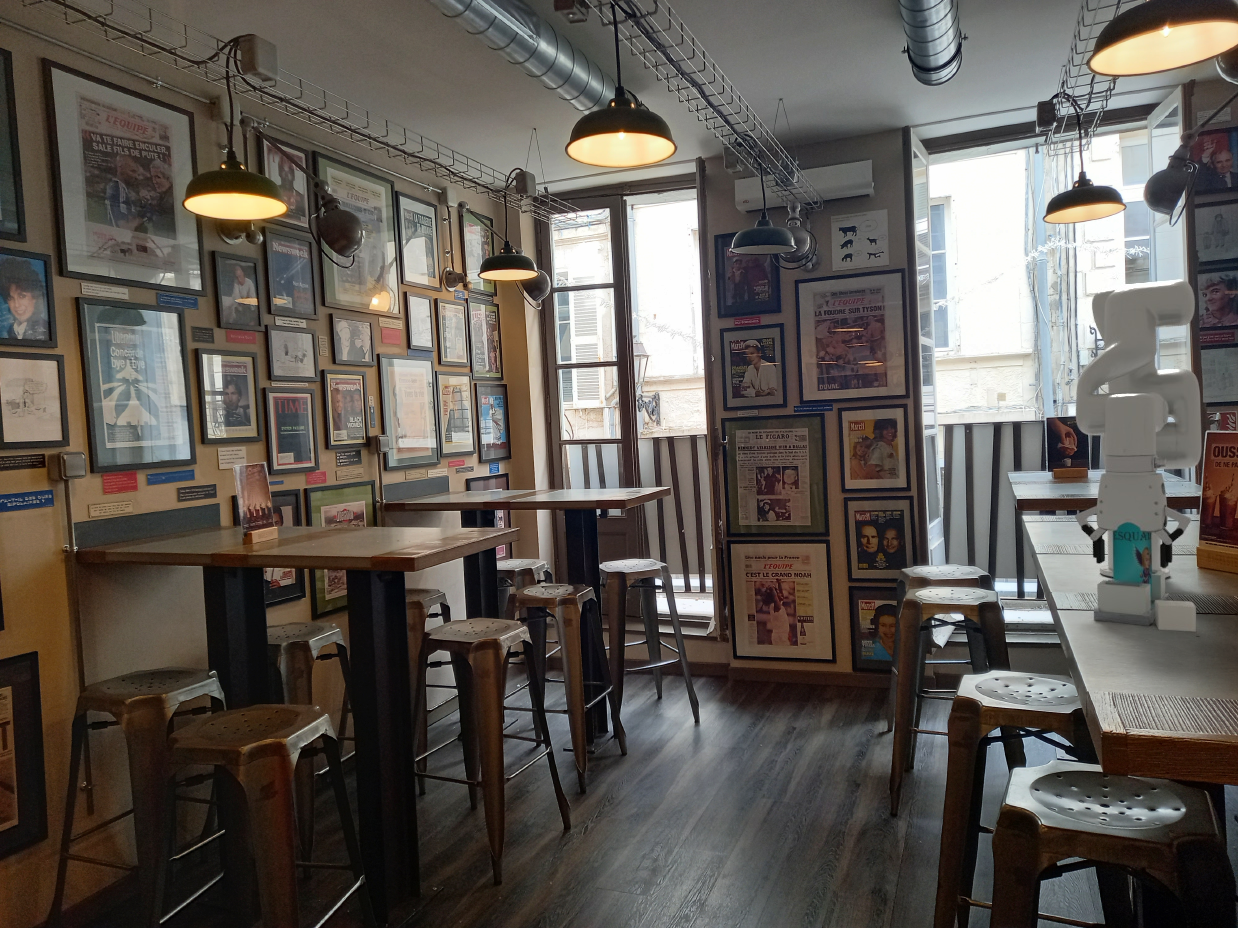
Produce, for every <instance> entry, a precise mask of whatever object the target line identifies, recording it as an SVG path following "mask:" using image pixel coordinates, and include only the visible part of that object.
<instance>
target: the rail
mask: <svg viewBox="0 0 1238 928" xmlns="http://www.w3.org/2000/svg"><path fill="white" fill-rule="evenodd" d="M1157 600H1165V601H1170V593H1168V592H1167V593H1166V592H1165V595H1164V596H1162V597H1161V598H1158V599H1157ZM1093 621H1103V622H1111V623H1120V624H1131V625H1138V626H1147V627H1148V626H1150V625H1151V624H1152V623H1154V622H1155V600H1151V608H1150V609H1149V610H1148V611H1147V612H1146V613H1143V615H1134V614H1124V613H1114V612H1105V611H1100V608H1098V604H1097V605H1096V606H1094V607H1093Z"/></svg>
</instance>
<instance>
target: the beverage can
mask: <svg viewBox="0 0 1238 928" xmlns="http://www.w3.org/2000/svg"><path fill="white" fill-rule="evenodd" d="M1126 520H1128V521H1131V519H1126ZM1112 580H1116V581H1129V582H1141V583H1143V584H1150V597H1151V596H1152V542H1151V533H1147V532H1143V531H1141V529H1140V527H1138V526H1137V525H1135V524H1133V523H1131V522H1126V523H1123V524H1121V525H1120V526H1118V528H1117V530H1116V531H1113V577H1112Z"/></svg>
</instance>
